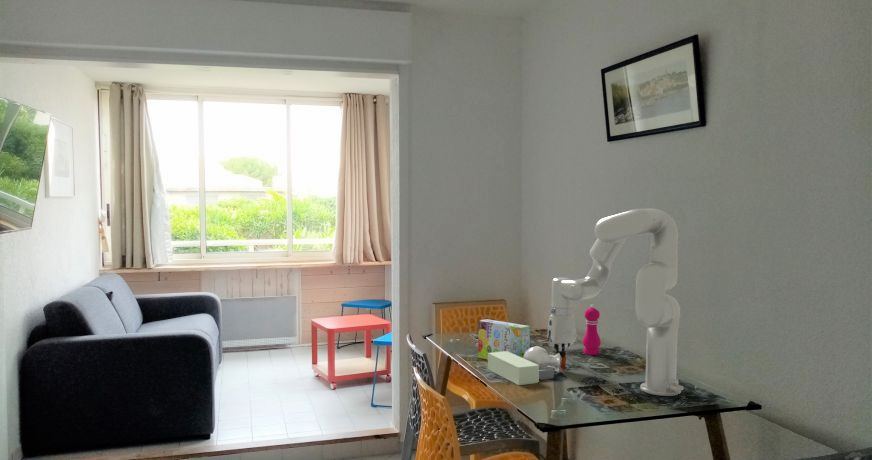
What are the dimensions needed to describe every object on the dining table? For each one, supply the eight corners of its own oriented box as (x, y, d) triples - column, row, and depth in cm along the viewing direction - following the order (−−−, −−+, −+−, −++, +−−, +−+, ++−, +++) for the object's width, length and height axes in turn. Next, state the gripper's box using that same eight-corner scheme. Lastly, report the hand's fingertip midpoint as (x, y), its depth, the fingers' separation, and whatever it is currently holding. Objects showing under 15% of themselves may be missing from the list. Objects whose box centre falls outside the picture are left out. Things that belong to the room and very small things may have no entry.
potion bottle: (520, 374, 232) (561, 379, 231) (523, 365, 224) (566, 371, 223) (522, 350, 237) (562, 355, 236) (525, 340, 228) (567, 346, 228)
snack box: (530, 365, 241) (530, 325, 240) (521, 367, 236) (521, 327, 236) (486, 355, 255) (486, 318, 254) (477, 358, 251) (477, 320, 250)
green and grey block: (558, 380, 220) (558, 363, 220) (518, 385, 214) (518, 367, 214) (525, 364, 240) (525, 349, 240) (487, 369, 234) (487, 353, 234)
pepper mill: (601, 355, 255) (601, 306, 255) (582, 354, 257) (583, 305, 256) (600, 351, 263) (600, 303, 262) (582, 350, 264) (582, 302, 263)
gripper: (550, 314, 226) (549, 365, 227) (584, 312, 232) (583, 361, 233) (538, 311, 233) (537, 360, 234) (572, 308, 239) (571, 357, 240)
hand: (560, 361), depth 234 cm, fingers closed
